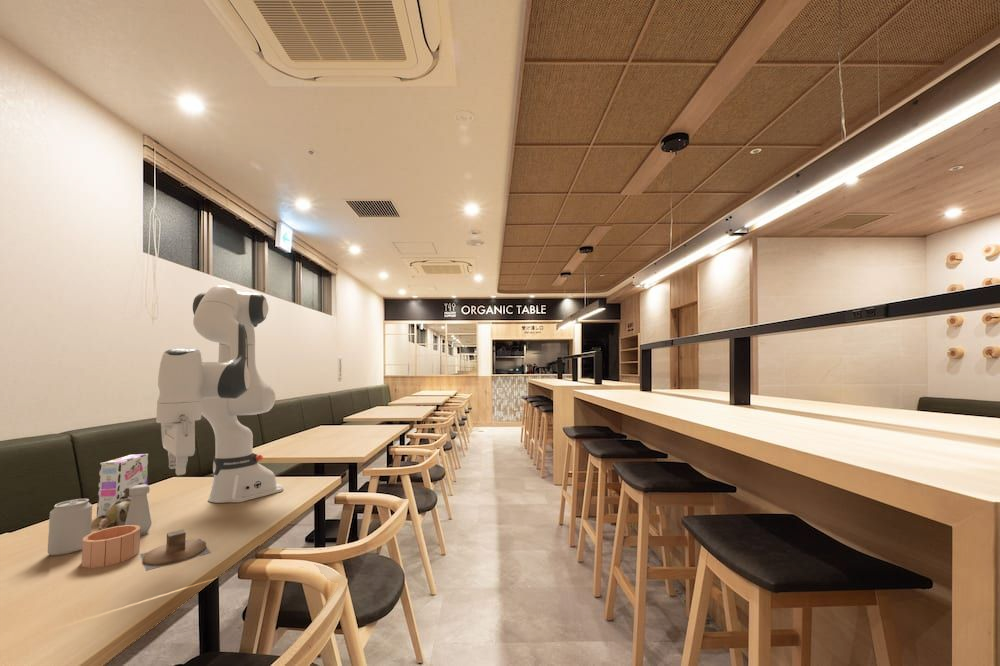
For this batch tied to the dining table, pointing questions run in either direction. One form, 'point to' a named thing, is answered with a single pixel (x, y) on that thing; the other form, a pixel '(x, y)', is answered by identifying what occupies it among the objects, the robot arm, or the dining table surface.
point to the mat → (149, 567)
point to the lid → (174, 549)
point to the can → (69, 526)
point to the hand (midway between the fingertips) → (176, 471)
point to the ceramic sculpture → (116, 513)
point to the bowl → (110, 546)
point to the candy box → (120, 479)
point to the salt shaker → (139, 508)
